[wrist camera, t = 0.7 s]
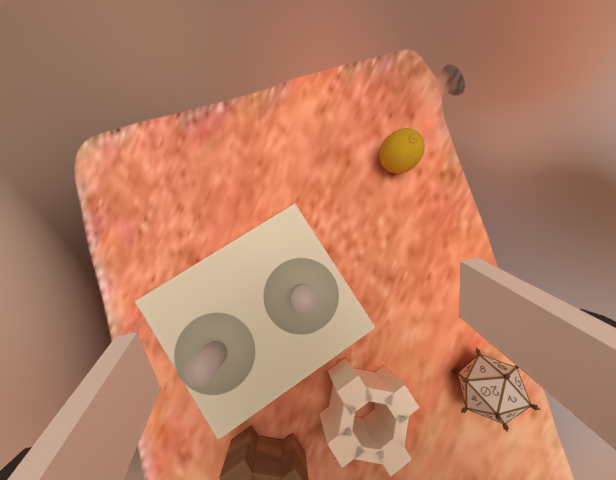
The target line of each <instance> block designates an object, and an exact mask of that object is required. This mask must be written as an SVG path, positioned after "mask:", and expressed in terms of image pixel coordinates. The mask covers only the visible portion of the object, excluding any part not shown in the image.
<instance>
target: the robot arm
mask: <svg viewBox="0 0 616 480" xmlns="http://www.w3.org/2000/svg"><path fill="white" fill-rule="evenodd" d="M459 317H460V318H461V319H463V320H464V321H465V322H466V323H467V324H468V325H470V326H471V327H472V328H473V329H474V330H475V331H477V332H478V333H479V334H480V335H481V336H482V337H484V338H485V339H486V340H487V341H488V342H490V343H491V344H492V345H493V346H494V347H495V348H497V349H498V350H499V351H500V352H501V353H502V354H504V355H505V356H506V357H507V358H508V359H509V360H511V361H512V362H513V363H514V364H515V365H517V366H518V367H519V368H520V369H521V370H522V371H524V372H525V373H526V374H527V375H528V376H529V377H531V378H532V379H533V380H534V381H535V382H536V383H538V384H539V385H540V386H541V387H542V388H544V389H545V390H546V391H547V392H548V393H550V394H551V395H552V396H553V397H554V398H555V399H557V400H558V401H559V402H560V403H561V404H562V405H563V406H565V407H566V408H567V409H568V410H569V411H571V412H572V413H573V414H574V415H575V416H576V417H578V418H579V419H580V420H581V421H582V422H583V423H585V424H586V425H587V426H588V427H589V428H590V429H592V430H593V431H594V432H595V433H596V434H598V435H599V436H600V437H601V438H602V439H603V440H605V441H606V442H607V443H608V444H609V445H610V446H612V447H613V448H614V449H615V450H616V322H615V321H613V320H611V319H609V318H607V317H605V316H602V315H599V314H596V313H593V312H589V311H586V310H583V309H577V308H575V307H573V306H571V305H569V304H567V303H565V302H563V301H562V300H559V299H558V298H556V297H553V296H552V295H550V294H548V293H546V292H544V291H542V290H540V289H538V288H536V287H534V286H532V285H530V284H528V283H526V282H524V281H522V280H520V279H518V278H516V277H514V276H512V275H510V274H509V273H507V272H505V271H503V270H501V269H499V268H497V267H495V266H493V265H491V264H489V263H487V262H485V261H483V260H481V259H479V258H473V259H468V260H464V261H461V262H460V302H459ZM160 389H161V387H160V385H159V383H158V380H157V378H156V376H155V373H154V371H153V369H152V366H151V364H150V361H149V359H148V357H147V354H146V352H145V350H144V347H143V345H142V343H141V340H140V338H139V335H138V333H137V332H136V333H132V334H127V335H122V336H118V337H115V339H114V340H113V341H112V343H111V344H110V345H109V347H108V348H107V349H106V351H105V352H104V353H103V355H102V356H101V357H100V359H99V360H98V361H97V362H96V364H95V365H94V367H93V368H92V369H91V370H90V372H89V373H88V374H87V376H86V377H85V378H84V379H83V381H82V382H81V383H80V385H79V386H78V387H77V389H76V390H75V391H74V393H73V394H72V395H71V397H70V398H69V399H68V401H67V402H66V403H65V404H64V406H63V407H62V409H61V410H60V411H59V412H58V414H57V415H56V416H55V418H54V419H53V420H52V422H51V423H50V424H49V426H48V427H47V428H46V429H45V431H44V432H43V433H42V435H41V436H40V437H39V439H38V440H37V441H36V443H35V444H34V445H33V447H30V448H26V449H24V450H23V451H22V452H20V453H19V455H17V456H16V457H15V458H14V459H13V460H12V461H11V462H9V463H8V464H7V465H6V466H5V467H4V468H3V469H2V470H1V471H0V480H123V479H124V477H125V474H126V472H127V469H128V467H129V464H130V462H131V460H132V457H133V455H134V452H135V450H136V448H137V445H138V443H139V440H140V438H141V435H142V433H143V431H144V428H145V426H146V423H147V421H148V418H149V416H150V414H151V411H152V409H153V406H154V404H155V401H156V399H157V397H158V394H159V392H160Z"/></svg>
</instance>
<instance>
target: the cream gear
mask: <svg viewBox="0 0 616 480" xmlns="http://www.w3.org/2000/svg"><path fill="white" fill-rule="evenodd" d="M328 373H329V375H330V378H331V380H332V382H333V386H332V391H331V396H330V402H329V406H328V407H327V408H326V409H324V410H323V411H322V412H320V413H319V414H320V418H321V422H322V426H323V430H324V434H325V438H326V442H327V445H328V446H329V448H330V449H331V451H332V453H333V454H334V456H335V458H336V459H337V461H338V462H339V464H340V466H341V467H342V468H343V467H344V466H345V465H347V464H348V463H349V462H351V461H352V460H353V459H355V460H361V461H366V462H372V463H377V464H383V465H384V467H385V469H386V470H387V472H388V473H389V475H390V476H392V475H393V474H395V473H396V472H397V471H398V470H400V469H401V468H402V467H403V466H404V465H406V464H407V463H408V462H409V461H411V460H412V458H411V457H410V455H409V454H408V452H407V451H406V449H405V448H404V447H405V440H406V433H407V427H408V420H409V416H410V415H411V414H412V413H413V412H415V411H416V410H417V409H418V408H420V407H419V406H418V404H417V403H416V401H415V399H414V398H413V396H412V395H411V393H410V392H409V390H408V389H407V387H406V386H405V384H404V383H403V382H401V381H400V380H399V379H398V378H397V377H396V376H395V375H394V374H393V373H392V372H390V371H389V370H388V369H387V368H386V367H385V366H382V367H381V368H380V369H378V370H377V371H376V372H373V371H367V370H362V369H357V368H353V367H352V366H351V365H350V363H349V362H348V361H347V359H346V358H344V359H343V360H342V361H340V362H339V363H337V364H336V365H335V366H333V367H332V368H331V369H329V370H328ZM369 401H371V402H375V406H374V410H372V411H371V412H370V413H368V414H367V415H366V416H364V417H363V418H358V417H354V416H355V412H356V411H357V410H359V409H360V408H361V407H363V406H364V405H365V404H367V403H368V402H369Z"/></svg>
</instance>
